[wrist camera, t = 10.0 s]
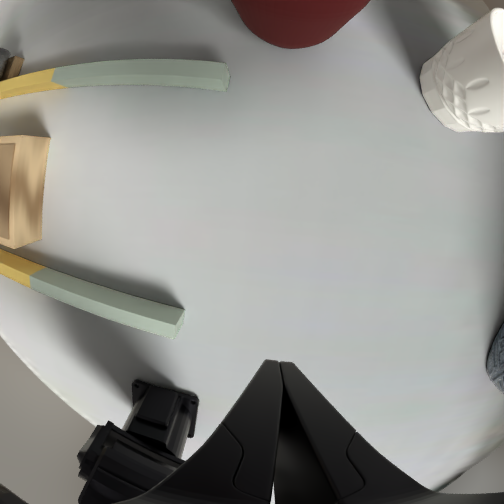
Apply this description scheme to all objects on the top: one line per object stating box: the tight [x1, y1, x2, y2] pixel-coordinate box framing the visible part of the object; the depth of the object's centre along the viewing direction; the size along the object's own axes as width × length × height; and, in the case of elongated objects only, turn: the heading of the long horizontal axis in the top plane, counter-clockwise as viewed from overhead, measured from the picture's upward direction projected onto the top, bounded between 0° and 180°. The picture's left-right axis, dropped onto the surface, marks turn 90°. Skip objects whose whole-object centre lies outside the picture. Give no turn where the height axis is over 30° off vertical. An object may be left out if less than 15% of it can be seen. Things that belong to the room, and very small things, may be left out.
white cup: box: [419, 8, 504, 133], centre depth 11 cm, size 8×8×10 cm
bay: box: [0, 59, 230, 339], centre depth 17 cm, size 18×28×2 cm, turn 78°
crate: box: [0, 135, 51, 249], centre depth 17 cm, size 9×7×4 cm
